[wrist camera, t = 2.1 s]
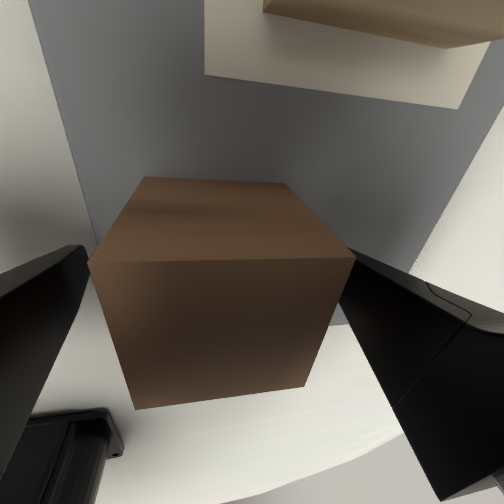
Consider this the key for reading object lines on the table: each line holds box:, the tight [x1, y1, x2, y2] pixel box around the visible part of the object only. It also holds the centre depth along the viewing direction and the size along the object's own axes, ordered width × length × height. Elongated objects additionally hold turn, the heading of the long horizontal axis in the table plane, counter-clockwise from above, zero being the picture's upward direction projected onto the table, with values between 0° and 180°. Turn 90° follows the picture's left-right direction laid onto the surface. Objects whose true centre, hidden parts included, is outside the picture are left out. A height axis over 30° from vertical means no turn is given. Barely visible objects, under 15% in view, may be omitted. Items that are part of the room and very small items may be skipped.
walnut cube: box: [87, 176, 356, 410], centre depth 8 cm, size 5×5×5 cm
